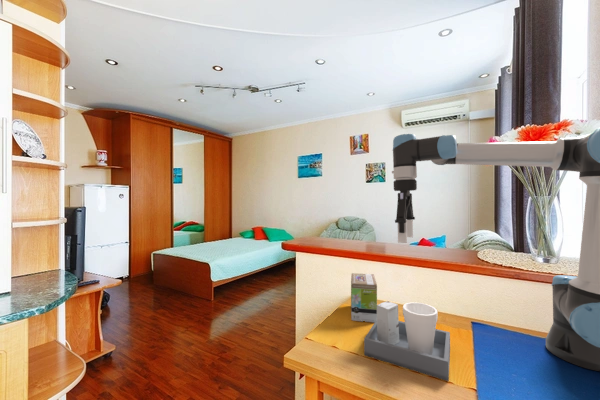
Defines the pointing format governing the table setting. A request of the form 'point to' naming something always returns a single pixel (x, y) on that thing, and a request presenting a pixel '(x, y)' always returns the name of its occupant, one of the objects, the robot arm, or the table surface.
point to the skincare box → (387, 323)
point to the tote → (411, 352)
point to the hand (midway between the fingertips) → (405, 239)
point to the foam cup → (420, 326)
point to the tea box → (363, 297)
